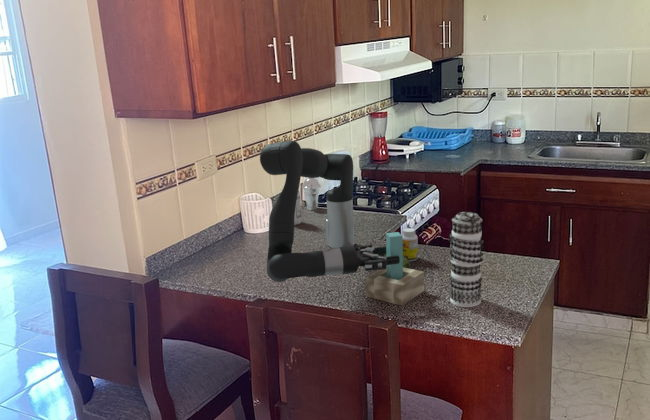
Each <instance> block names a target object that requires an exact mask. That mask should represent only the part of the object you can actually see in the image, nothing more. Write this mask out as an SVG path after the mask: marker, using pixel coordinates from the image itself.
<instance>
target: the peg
mask: <svg viewBox="0 0 650 420" xmlns="http://www.w3.org/2000/svg"><path fill="white" fill-rule="evenodd" d="M402 235H403V234H401V232H398V231H395V232H388V233H387V232H386V233H385V246H386V257H388V256H399V258H400V262H399V264H392V265H387V278H391V279H396V280H400V279H401V278H403V244H402Z"/></svg>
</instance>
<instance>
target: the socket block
mask: <svg viewBox="0 0 650 420" xmlns="http://www.w3.org/2000/svg"><path fill="white" fill-rule="evenodd" d="M424 276H425V272H424V271H422V270H417V269H412V268H410V267H409V268H404V267H403V278H401V279H400V280H396V279H391V278H387V266H386V269H381V270H374V271H373V272H372V273H370V274H368V275H367V276H366V277H365V292H366V293H365V296H366V297H368V298H371V299H373V300H379V301H381V302H385V303H386V302H387V303H391V304H394V305H399V306H404V305H406V304H407V303H408V302H410V301H411V300H413V299H415V298H416V297H418V296H419V295H420V294H421V293H423V292H425V288H424V287H425V283H424V282H425V281H424V280H425V277H424Z"/></svg>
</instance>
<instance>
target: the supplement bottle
mask: <svg viewBox="0 0 650 420" xmlns="http://www.w3.org/2000/svg"><path fill="white" fill-rule="evenodd" d="M401 235H402V244H403V256H404V257H405V258H406V259H407V260H408V262H409V263H410V262H416V261H417V260H418V258H419V257H418V256H419V255H418V253H419V248H418V247H419V245H418V244H419V243H418V242H419V241H418V240H419V238H418V237H419V236H418V235H417V234H416V230H415V228H410V227H409V228H404V229H403V230H402V234H401Z"/></svg>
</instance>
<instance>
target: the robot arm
mask: <svg viewBox="0 0 650 420" xmlns="http://www.w3.org/2000/svg"><path fill="white" fill-rule="evenodd" d="M353 160H354V159H353V158H352V156H351V154H347V153H326V154H324V153H323V152H322V151H321V150H318V149H315V148H310V147H301V145H300V144H299V142H297V141H295V140H287V141H279V142H272V143H269V144H267V145H265V146H264V147H263V148H262V149H261V151H260V155H259V161H260V165H261V167H262V170H264V171H265V172H266V173H267V174H269V175H271V176H281V175H282V176H283V175H285V181H284V186H283V188H282V190H281V192H280V194H279V196H278V198H277V200H276V201H275V203H274V205H273V206H272V209H271V211H270V214H269V219H268V220H269V221H268V249H267V251H268V252H267V258H266V273H267V276H268V277H269V278H270V280H272V281H273V282H277V283H281V282H282V283H283V282H285V281H287V280H289V279H293V278H301V277H306V278H316V277H324V276H339V275H346V274H355V273H357V272H358V270H359V269H358V268H359V267H363V268H364V270H365V271H366V272H369V271H377V270H381V269H386V266H387V265H392V264H399V262H400V258H399V256H388V257H384V255H385V254H386V245H385V246H378V247H377V246H374V245H373V244H367V245H359V246H355V227H354V206H353V205H354V203H353V201H354V200H353V199H354V197H353V195H354V194H353V193H354V161H353ZM301 177H303V178H306V179H308V178H315V179H317V178H321V179H323V180H327V181H340V183H339V184H340V185H339V186H338V187H335V188H330V189H329V190H327V191H326V214H327V215H326V216H327V219H325V220H324V221H325V222H324V223H325V241H326V243H325V245H326V246H328V247H329V248H326V249H323V250H315V251H314V250H312V251H307V252H293V251H292V249H293V245H294V239H295V225H294V217H295V207H296V201H297V195H298V190H299V189H300V183H301ZM299 191H300V190H299ZM382 255H383V256H382Z"/></svg>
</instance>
